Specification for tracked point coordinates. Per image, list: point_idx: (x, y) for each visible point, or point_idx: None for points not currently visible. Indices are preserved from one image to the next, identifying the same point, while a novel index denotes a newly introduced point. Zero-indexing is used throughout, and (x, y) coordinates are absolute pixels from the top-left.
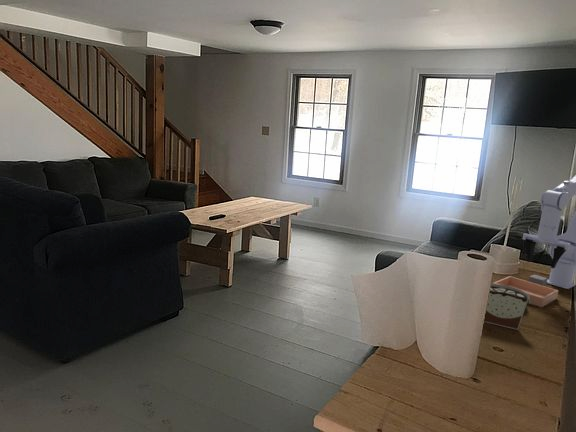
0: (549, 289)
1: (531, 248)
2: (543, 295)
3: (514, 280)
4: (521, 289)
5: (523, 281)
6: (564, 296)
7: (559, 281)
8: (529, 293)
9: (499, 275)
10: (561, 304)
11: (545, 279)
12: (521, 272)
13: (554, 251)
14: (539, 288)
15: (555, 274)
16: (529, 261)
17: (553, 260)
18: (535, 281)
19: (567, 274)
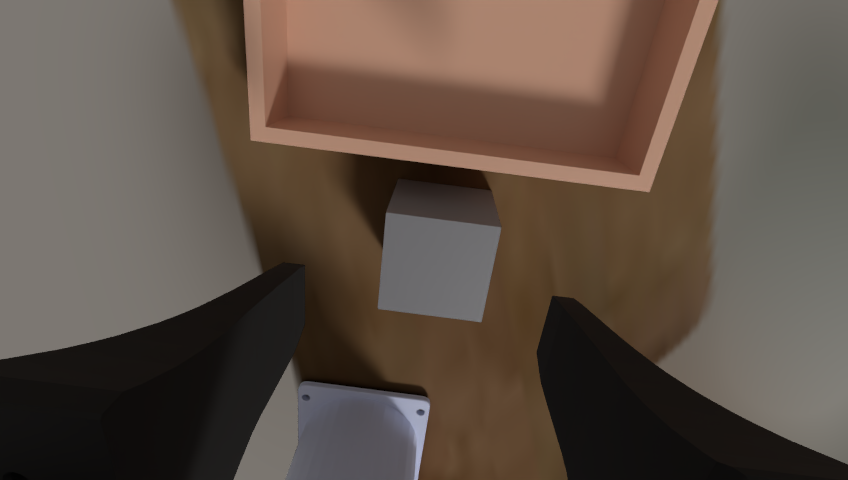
0: (317, 131)
1: (621, 445)
2: (356, 99)
3: (595, 164)
4: (515, 96)
5: (526, 158)
6: (268, 235)
7: (347, 415)
8: (445, 44)
9: (694, 320)
10: (210, 15)
11: (381, 266)
12: None
13: (144, 375)
14: (394, 138)
15: (371, 451)
16: (553, 301)
17: (246, 302)
18: (443, 209)
19: (300, 470)
